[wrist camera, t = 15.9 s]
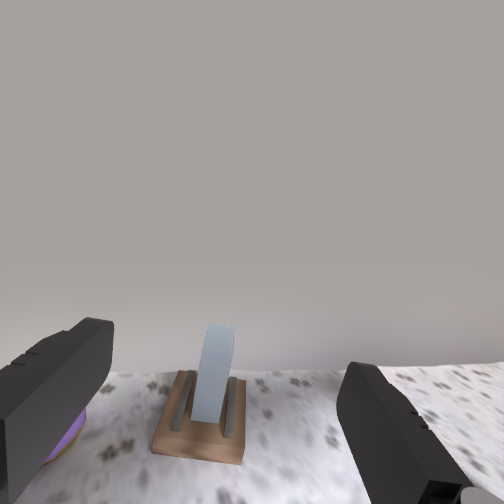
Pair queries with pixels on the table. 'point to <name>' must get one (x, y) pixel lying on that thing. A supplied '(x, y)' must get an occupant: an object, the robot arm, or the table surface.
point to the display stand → (202, 424)
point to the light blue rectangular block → (213, 373)
